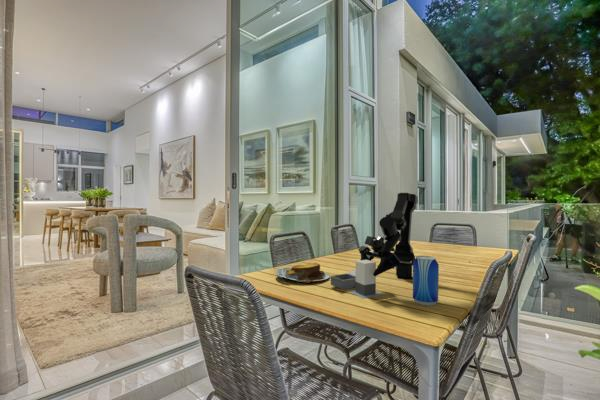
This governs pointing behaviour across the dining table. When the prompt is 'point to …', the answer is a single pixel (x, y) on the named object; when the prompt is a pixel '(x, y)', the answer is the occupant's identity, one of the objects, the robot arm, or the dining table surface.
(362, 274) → the box
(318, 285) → the dining table surface
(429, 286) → the beer can
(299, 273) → the food on plate
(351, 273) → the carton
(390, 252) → the robot arm
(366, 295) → the rubber mat
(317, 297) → the dining table surface
